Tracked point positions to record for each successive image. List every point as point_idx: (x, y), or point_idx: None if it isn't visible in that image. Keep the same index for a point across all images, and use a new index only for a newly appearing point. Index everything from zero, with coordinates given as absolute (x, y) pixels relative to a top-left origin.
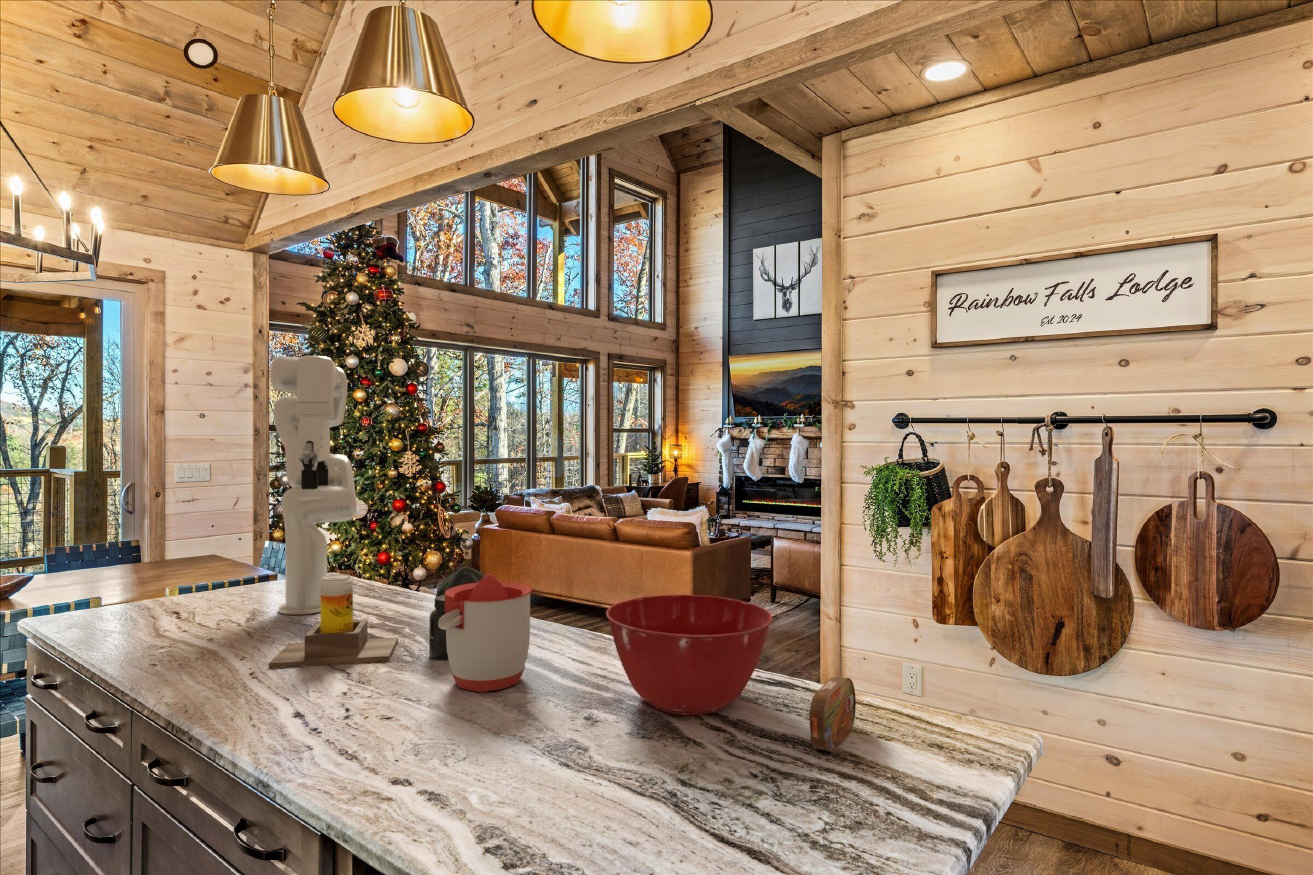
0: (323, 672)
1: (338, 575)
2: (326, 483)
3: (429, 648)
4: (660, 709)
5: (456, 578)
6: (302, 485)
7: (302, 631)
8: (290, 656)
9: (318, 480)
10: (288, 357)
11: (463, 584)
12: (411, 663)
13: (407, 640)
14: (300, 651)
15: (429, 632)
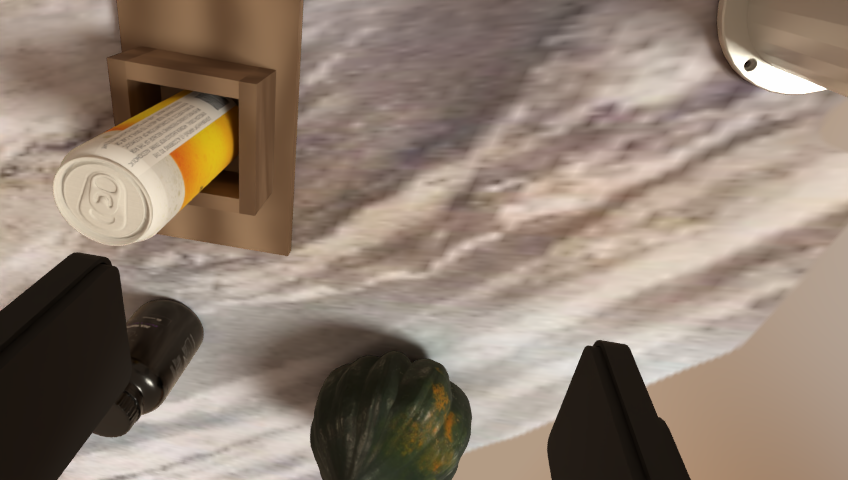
0: (76, 93)
1: (148, 206)
2: (551, 455)
3: (149, 308)
4: None
5: (340, 461)
6: (54, 278)
7: (486, 10)
8: (166, 6)
9: (581, 425)
10: None
11: (322, 460)
12: (125, 264)
13: (300, 269)
14: (209, 29)
15: (131, 330)
